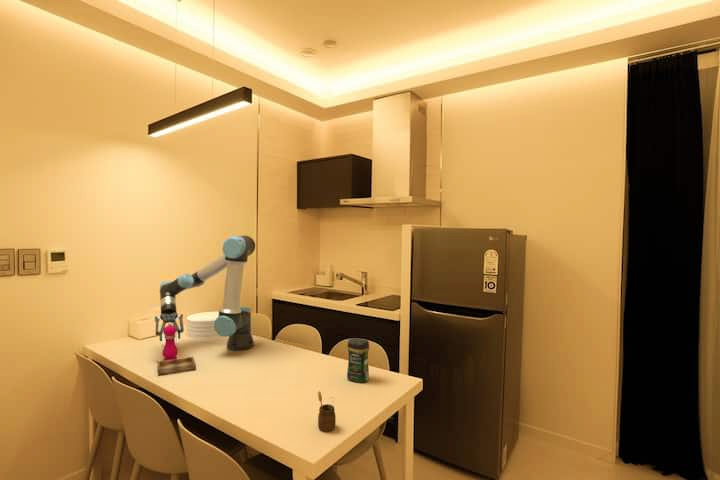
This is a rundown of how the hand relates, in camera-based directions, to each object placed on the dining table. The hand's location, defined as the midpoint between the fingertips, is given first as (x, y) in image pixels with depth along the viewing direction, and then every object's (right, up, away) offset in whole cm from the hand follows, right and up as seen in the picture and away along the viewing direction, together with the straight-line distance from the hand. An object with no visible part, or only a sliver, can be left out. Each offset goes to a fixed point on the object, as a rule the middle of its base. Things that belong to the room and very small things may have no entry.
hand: (170, 344), depth 195 cm
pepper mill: (-2, -9, +3) cm, 10 cm away
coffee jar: (+95, -10, -20) cm, 98 cm away
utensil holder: (+84, -11, -63) cm, 106 cm away
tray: (+7, -10, -8) cm, 14 cm away
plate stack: (-2, -8, +57) cm, 58 cm away
